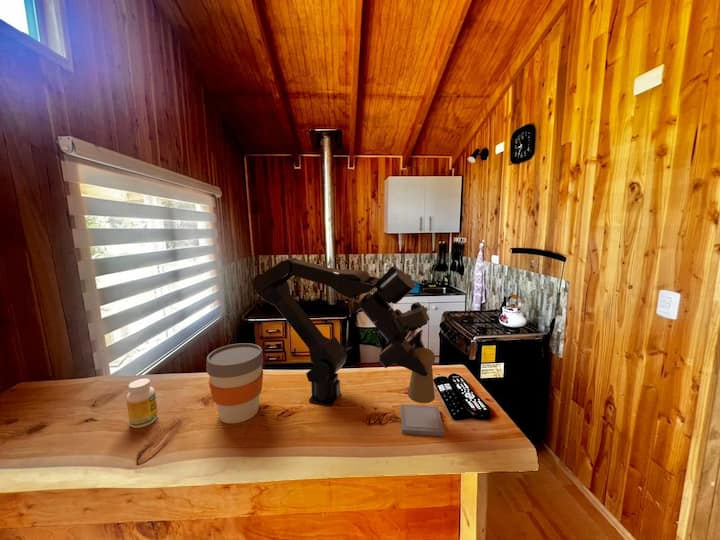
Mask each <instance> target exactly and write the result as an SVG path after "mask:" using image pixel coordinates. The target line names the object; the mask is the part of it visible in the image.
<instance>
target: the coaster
mask: <svg viewBox="0 0 720 540" xmlns="http://www.w3.org/2000/svg"><path fill="white" fill-rule="evenodd" d="M439 409H440V408H439V406H436V405H435V406H433V405H432V406H431V405H418V404H417V405H413V404H400V420H401V434H404V435H419V436H434V437H445V432H446V431H445V429H444V425H443V421H442V416H441V414H440V410H439Z"/></svg>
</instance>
